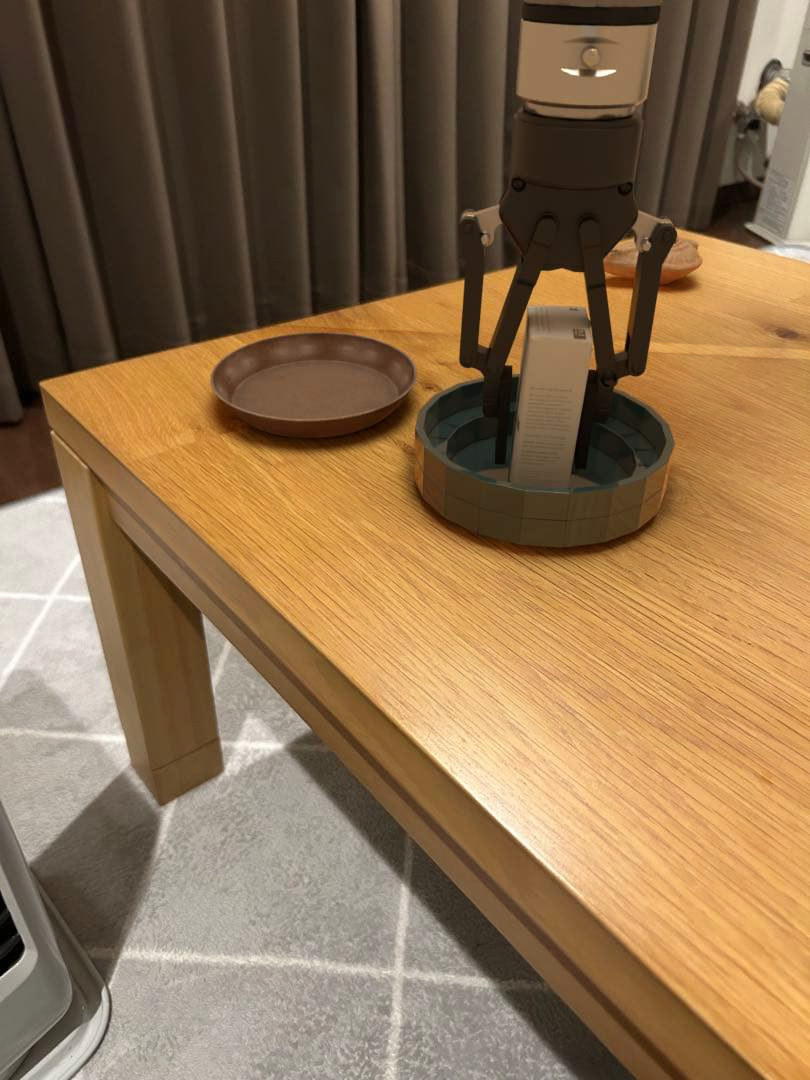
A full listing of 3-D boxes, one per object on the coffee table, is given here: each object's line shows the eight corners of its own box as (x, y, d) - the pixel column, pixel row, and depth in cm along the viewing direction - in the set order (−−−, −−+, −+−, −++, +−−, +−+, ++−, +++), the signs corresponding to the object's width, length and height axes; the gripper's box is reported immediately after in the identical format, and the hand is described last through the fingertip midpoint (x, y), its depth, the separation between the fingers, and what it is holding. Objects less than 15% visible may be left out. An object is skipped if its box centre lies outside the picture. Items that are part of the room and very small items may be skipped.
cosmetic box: (508, 454, 67) (522, 301, 60) (566, 457, 67) (587, 304, 60) (509, 496, 62) (524, 334, 55) (572, 499, 62) (595, 337, 55)
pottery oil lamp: (580, 269, 106) (600, 212, 105) (665, 301, 109) (686, 246, 108) (606, 265, 98) (629, 202, 97) (698, 300, 101) (721, 239, 99)
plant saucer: (359, 469, 67) (358, 434, 65) (171, 423, 73) (166, 390, 71) (447, 383, 80) (448, 351, 78) (282, 350, 86) (280, 320, 84)
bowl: (644, 435, 72) (655, 379, 69) (679, 565, 57) (694, 500, 54) (425, 423, 73) (426, 368, 70) (403, 547, 58) (403, 483, 55)
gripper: (418, 112, 48) (411, 475, 61) (754, 122, 46) (673, 491, 60) (428, 93, 54) (421, 427, 67) (725, 101, 53) (658, 440, 66)
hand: (539, 457), depth 63 cm, fingers open, 5 cm apart
